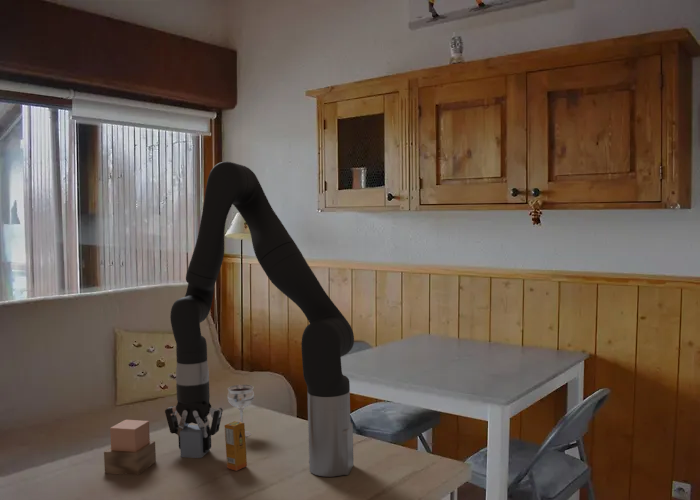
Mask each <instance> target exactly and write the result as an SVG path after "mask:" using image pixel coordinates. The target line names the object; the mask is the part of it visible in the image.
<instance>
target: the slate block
mask: <svg viewBox="0 0 700 500" xmlns="http://www.w3.org/2000/svg"><path fill="white" fill-rule="evenodd" d="M179 450H180V458H189V459H190V458H192V459H195V458H196V459H202V458H203V457H204V456H205V455H207V453H203V434H202V431H201V429H199V427H198V424H194V425H193V424H189V425H188V427H186V428H184V430H182V431H180V449H179Z"/></svg>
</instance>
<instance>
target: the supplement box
mask: <svg viewBox="0 0 700 500" xmlns="http://www.w3.org/2000/svg"><path fill="white" fill-rule="evenodd" d="M245 426H246V425H245V422H243V423H242V422H241V421H232V422H229V423H226V424H224V437H225V438H224V439H225V453H226V455H225V456H226V466H227V467H226V468H227V469H228V470H232V471H237V472H238V471H240V470H241V469H244V468H247V466H248V461H247V460H248V459H247V446H246V443H247V442H246V437H245V431H246V429H245Z"/></svg>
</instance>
